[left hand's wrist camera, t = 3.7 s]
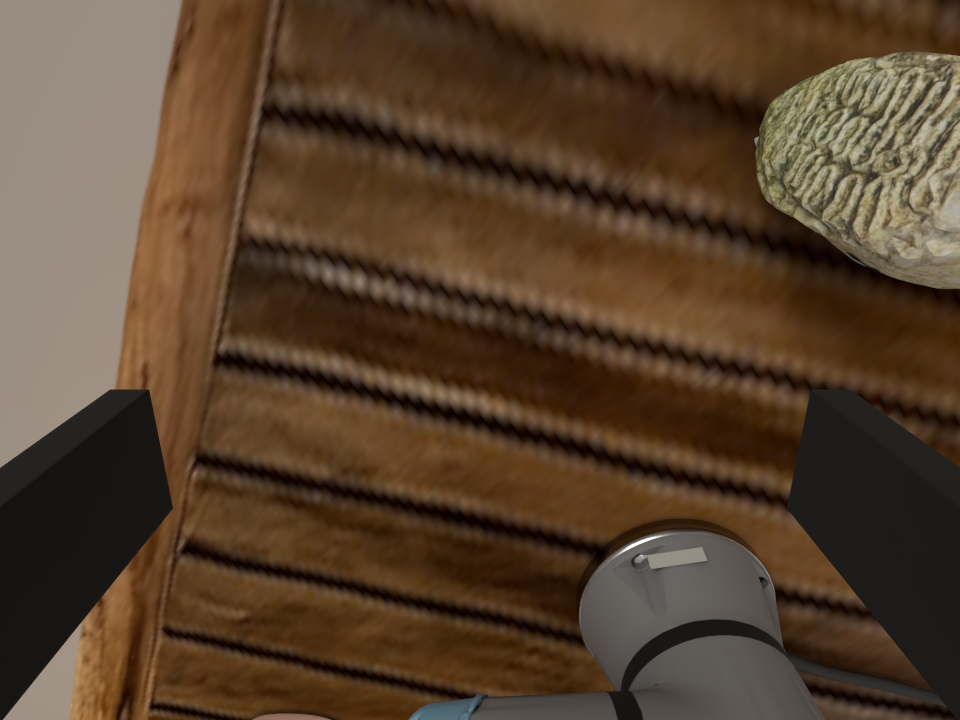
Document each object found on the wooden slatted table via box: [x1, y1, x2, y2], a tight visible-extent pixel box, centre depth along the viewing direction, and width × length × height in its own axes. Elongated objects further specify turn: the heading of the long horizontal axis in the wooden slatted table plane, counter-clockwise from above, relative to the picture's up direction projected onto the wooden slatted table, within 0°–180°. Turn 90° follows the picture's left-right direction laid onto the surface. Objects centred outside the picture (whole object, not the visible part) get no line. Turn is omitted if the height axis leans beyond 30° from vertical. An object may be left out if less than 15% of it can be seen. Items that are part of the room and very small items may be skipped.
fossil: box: [755, 51, 960, 289], centre depth 32 cm, size 9×18×15 cm, turn 68°
